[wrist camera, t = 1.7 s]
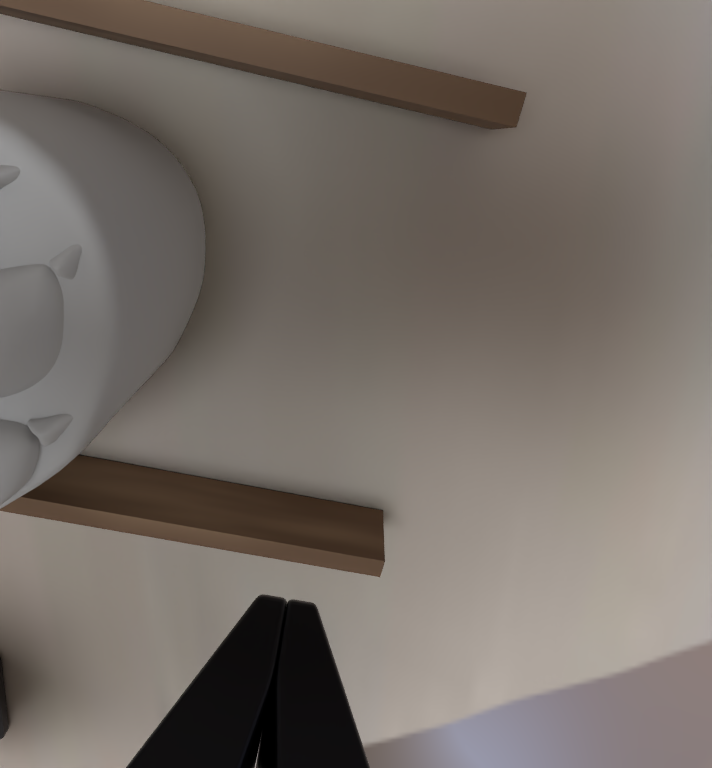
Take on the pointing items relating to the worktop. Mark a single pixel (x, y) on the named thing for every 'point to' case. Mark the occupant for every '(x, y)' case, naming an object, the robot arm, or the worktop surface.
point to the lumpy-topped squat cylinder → (84, 275)
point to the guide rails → (202, 495)
